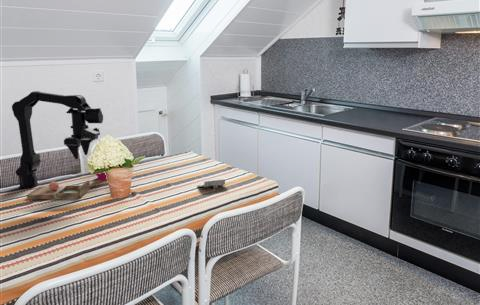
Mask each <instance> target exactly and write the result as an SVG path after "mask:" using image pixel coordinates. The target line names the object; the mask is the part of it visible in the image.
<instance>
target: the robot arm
mask: <svg viewBox="0 0 480 305" xmlns="http://www.w3.org/2000/svg"><path fill="white" fill-rule="evenodd" d="M38 102H44V103H53V104H59V105H60V104H61V105H64V106H66V107H67V108H69V109H68V110H67V111H66V114H71V124H72V125H70V129H72V134H71V136H69V137H66V138H64V139H63V145H65V147H67V149H68V150H69V152H70V153H71V154H72V156H73V157H74V160H78V159H79V149H80V146H81V148H82V152H83V154H84V155H85V156H87V155H88V153H89V148H90V146H91V143H92V142H93V141H95V140H97V139H99V136H100V135H101V132H100V128H98V127H95V128H89V125H88V124H103V121H104V115H103V112H102V110H101V107H99V108H92V107H91V106H90V104H88V102H87V101H86V98H85V96H84V95H81V94H74V95H69V94H67V95H63V94H55V93H48V92H42V91H40V90H39V91H38V90H37V91H31V92H30V93H29V94H28V95H26V96H25V97H23V98H21V99H20V100H18V101H15V102H13V104H11V110H12V113H13V116H14V117H15V119H16V121H17V124H18V130H19V137H20V143H21V151H22V153H21V155H20V159H19V160H20V162H19V163H20V164H19V167H18V168H17V169H16V170H15V174H16V176H17V177H18V181H19V186H17V188H18V189H32V188H34V187H36V186H37V185H39V183H38V176H37V175H36V172H37V170H38V168H39V167H40V163H41V162H42V161H41V154H40V153H36V151H35V148H34V139H33V132H32V126H31V125H32V124H31V119H32V115H33V108H34V107H35V106H36V105H37V103H38ZM87 123H88V124H87Z"/></svg>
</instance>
